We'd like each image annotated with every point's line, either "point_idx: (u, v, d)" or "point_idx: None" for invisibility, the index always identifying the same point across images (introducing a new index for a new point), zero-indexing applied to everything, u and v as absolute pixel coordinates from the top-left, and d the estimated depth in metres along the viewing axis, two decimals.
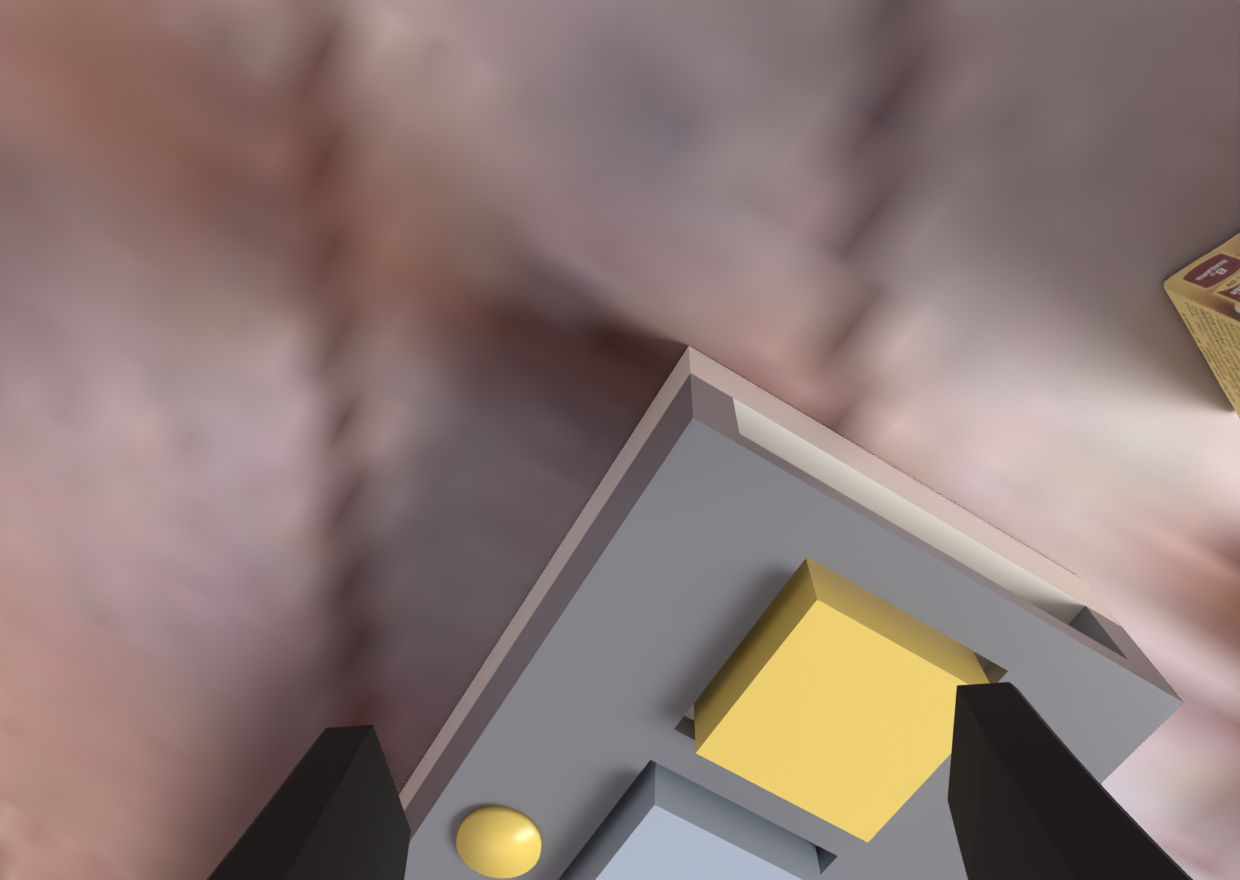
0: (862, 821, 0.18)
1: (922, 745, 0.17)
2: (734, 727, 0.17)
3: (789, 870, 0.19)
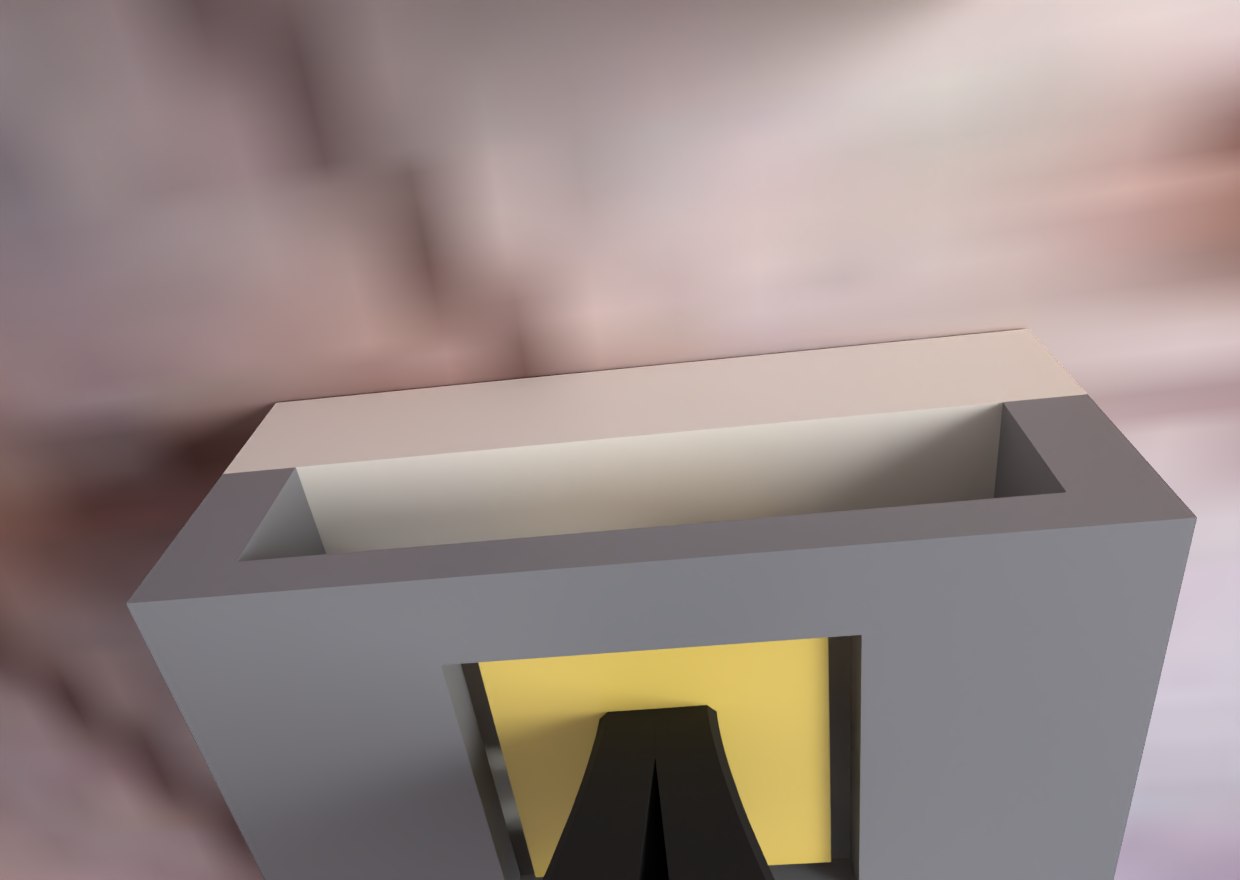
0: (800, 845, 0.12)
1: (783, 735, 0.11)
2: (545, 833, 0.12)
3: None
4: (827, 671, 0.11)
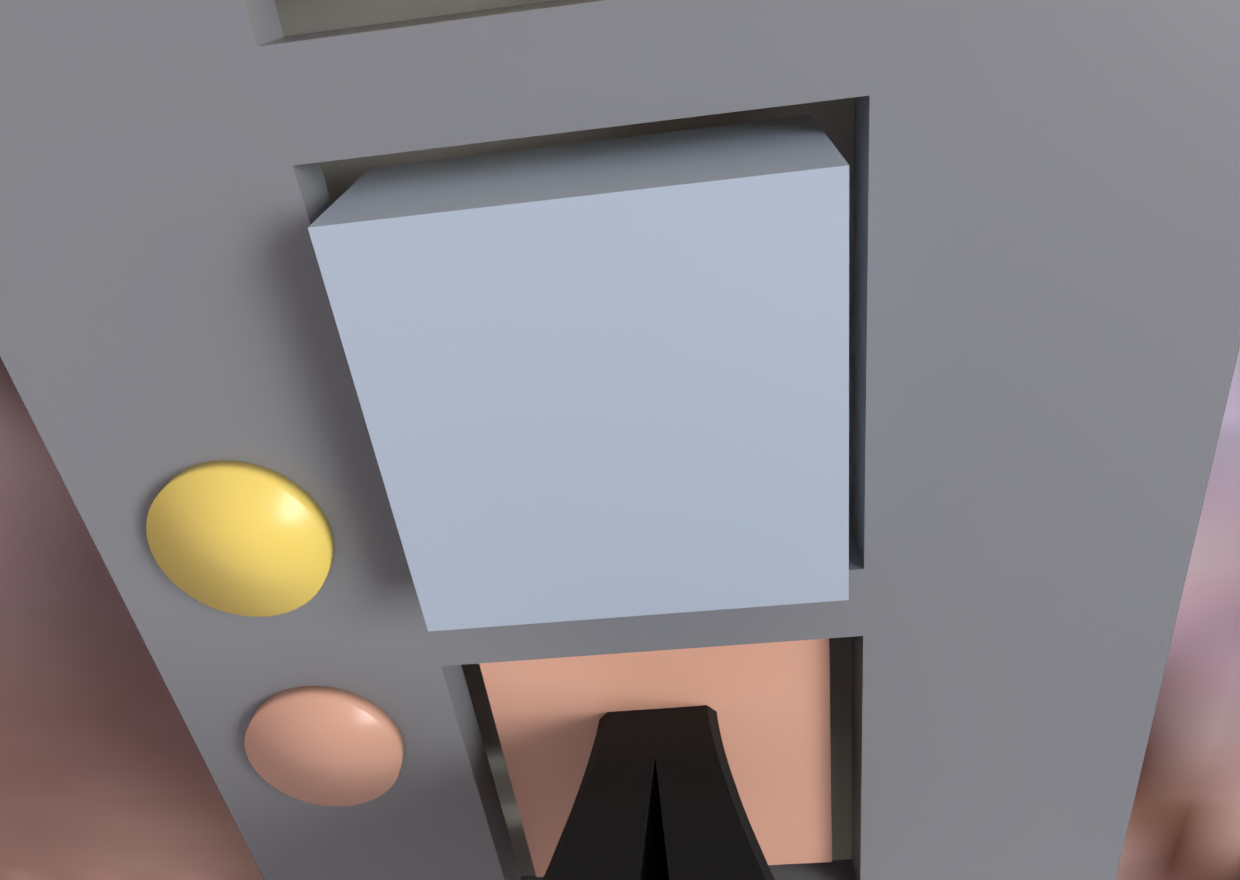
0: None
1: None
2: None
3: (732, 175, 0.07)
4: None
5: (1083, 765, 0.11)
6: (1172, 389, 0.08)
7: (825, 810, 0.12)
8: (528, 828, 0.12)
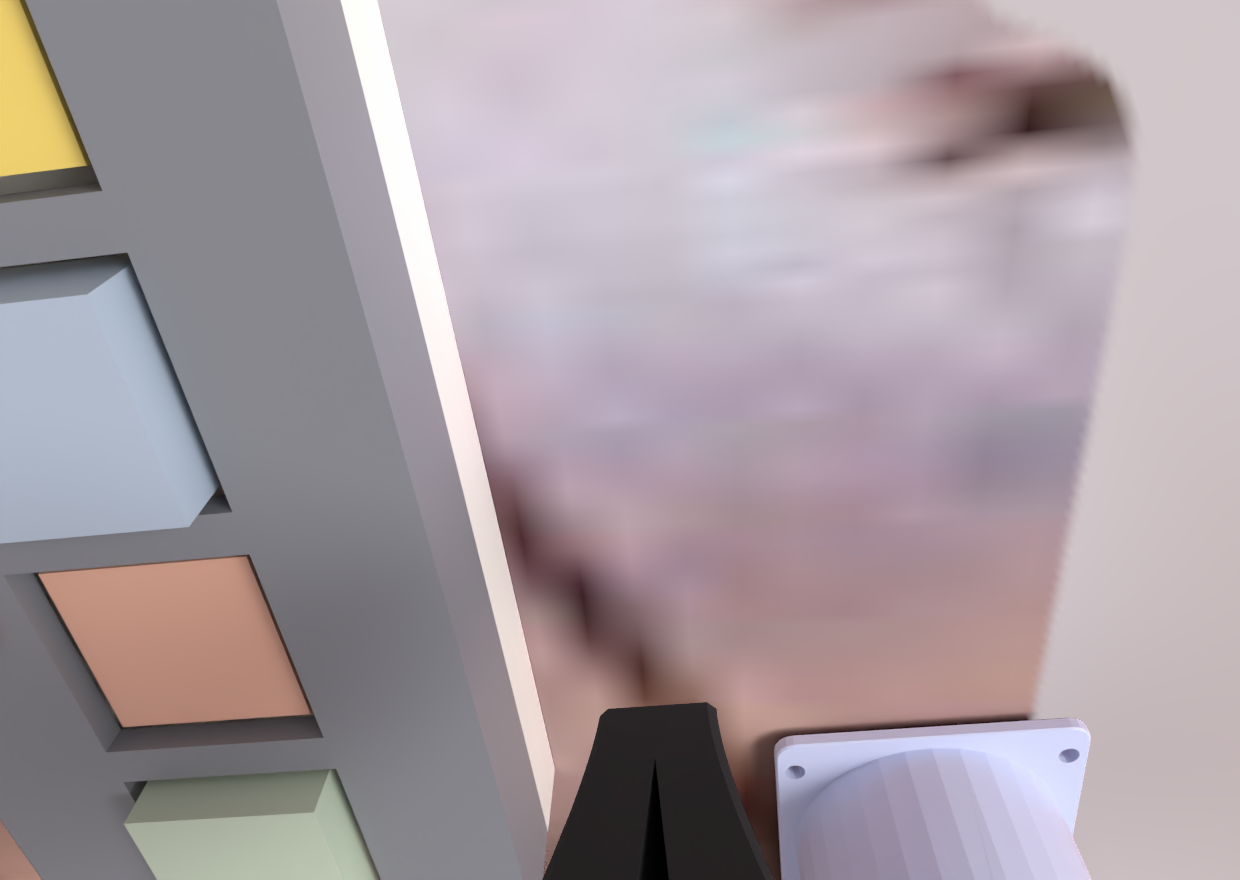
0: (49, 142, 0.13)
1: None
2: None
3: (35, 298, 0.13)
4: None
5: (420, 639, 0.17)
6: (359, 406, 0.15)
7: (292, 676, 0.18)
8: (105, 690, 0.18)
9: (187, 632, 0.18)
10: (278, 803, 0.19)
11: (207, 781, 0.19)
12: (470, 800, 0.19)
